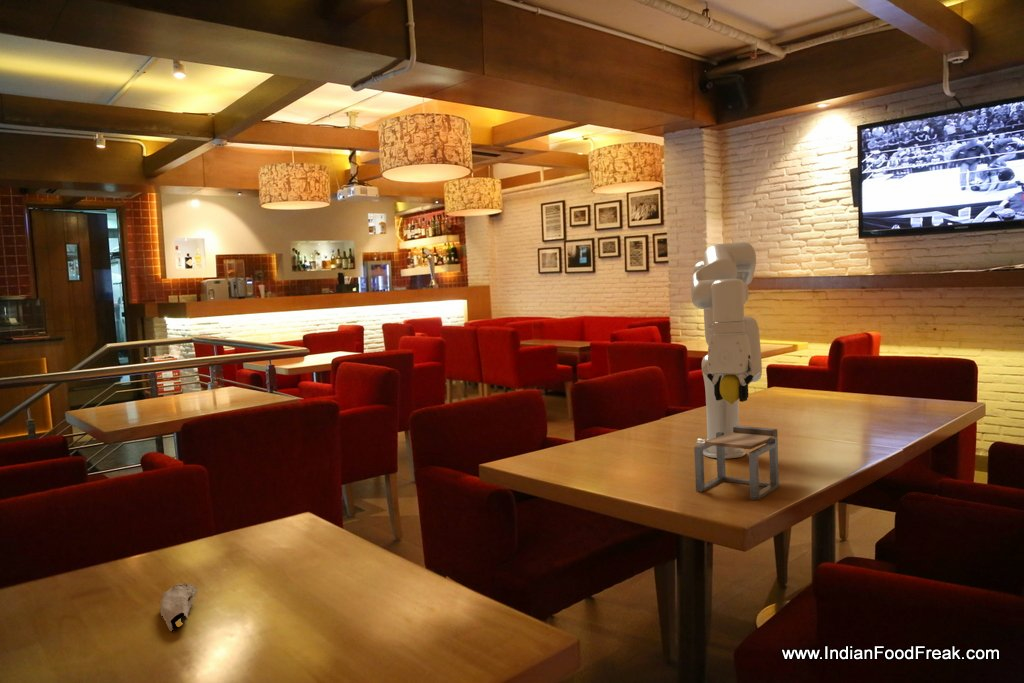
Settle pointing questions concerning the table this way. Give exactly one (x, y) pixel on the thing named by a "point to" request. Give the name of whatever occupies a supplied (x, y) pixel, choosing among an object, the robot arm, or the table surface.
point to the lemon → (730, 388)
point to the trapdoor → (744, 437)
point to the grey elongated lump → (177, 602)
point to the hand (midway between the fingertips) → (731, 399)
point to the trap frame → (753, 468)
